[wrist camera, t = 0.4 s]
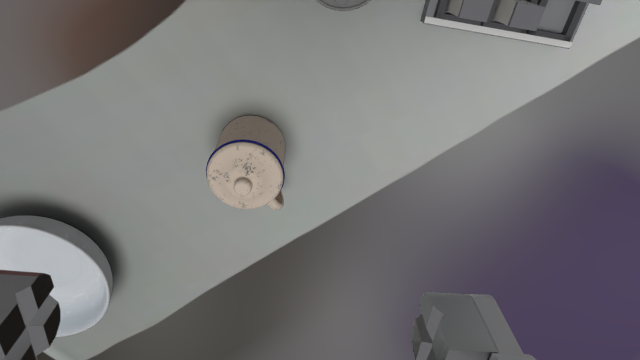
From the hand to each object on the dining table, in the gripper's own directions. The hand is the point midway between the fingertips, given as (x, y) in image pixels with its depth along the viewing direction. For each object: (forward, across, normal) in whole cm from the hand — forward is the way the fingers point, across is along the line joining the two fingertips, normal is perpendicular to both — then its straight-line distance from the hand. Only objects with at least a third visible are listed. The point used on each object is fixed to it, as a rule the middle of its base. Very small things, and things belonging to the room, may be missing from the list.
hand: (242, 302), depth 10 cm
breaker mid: (+44, -24, -2) cm, 50 cm away
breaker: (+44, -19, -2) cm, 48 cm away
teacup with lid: (+46, +3, +19) cm, 50 cm away
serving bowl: (+46, +34, +39) cm, 69 cm away
